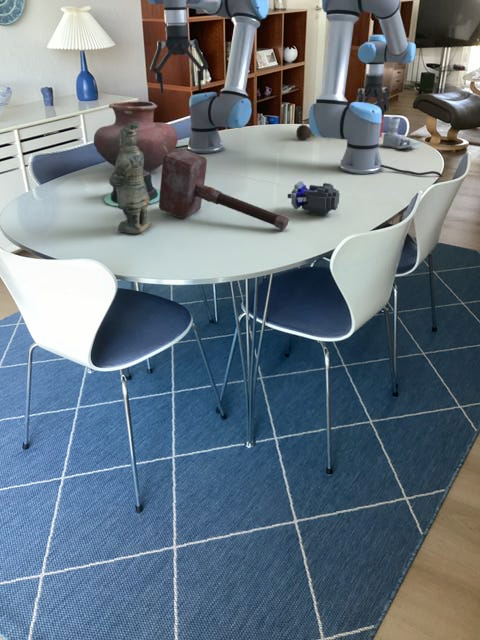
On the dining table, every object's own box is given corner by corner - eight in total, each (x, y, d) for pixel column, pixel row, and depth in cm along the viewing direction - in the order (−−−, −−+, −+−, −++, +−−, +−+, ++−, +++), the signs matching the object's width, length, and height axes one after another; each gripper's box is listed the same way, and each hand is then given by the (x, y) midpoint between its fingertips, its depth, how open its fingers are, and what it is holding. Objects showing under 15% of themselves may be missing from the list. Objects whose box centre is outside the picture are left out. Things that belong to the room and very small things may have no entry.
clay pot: (187, 162, 225) (183, 96, 212) (166, 184, 199) (159, 111, 187) (116, 160, 230) (108, 96, 217) (87, 181, 204) (75, 110, 192)
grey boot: (392, 115, 240) (425, 120, 231) (389, 143, 246) (420, 148, 237) (382, 118, 234) (415, 123, 226) (379, 146, 240) (410, 152, 232)
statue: (131, 220, 168) (117, 116, 152) (158, 224, 164) (147, 118, 149) (109, 233, 159) (93, 124, 144) (138, 237, 156) (124, 126, 140)
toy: (295, 178, 172) (342, 184, 166) (295, 205, 177) (340, 211, 171) (285, 186, 166) (333, 192, 160) (284, 213, 170) (331, 220, 164)
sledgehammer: (299, 190, 156) (179, 147, 167) (285, 200, 148) (161, 154, 160) (286, 244, 166) (174, 200, 177) (272, 256, 158) (156, 209, 170)
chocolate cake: (91, 202, 180) (113, 186, 197) (142, 231, 182) (160, 212, 199) (107, 162, 172) (129, 148, 190) (160, 192, 174) (177, 176, 192)
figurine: (338, 121, 266) (314, 124, 247) (336, 138, 269) (312, 141, 250) (313, 119, 272) (288, 121, 253) (312, 135, 275) (287, 138, 256)
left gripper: (210, 22, 193) (213, 88, 204) (138, 25, 189) (145, 92, 199) (214, 23, 187) (217, 91, 197) (139, 26, 182) (146, 95, 193)
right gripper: (393, 72, 248) (387, 124, 259) (348, 74, 244) (344, 127, 255) (400, 74, 242) (394, 128, 253) (354, 76, 238) (350, 131, 249)
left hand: (181, 91), depth 198 cm, fingers open, 13 cm apart
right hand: (369, 127), depth 254 cm, fingers closed on block, 9 cm apart
